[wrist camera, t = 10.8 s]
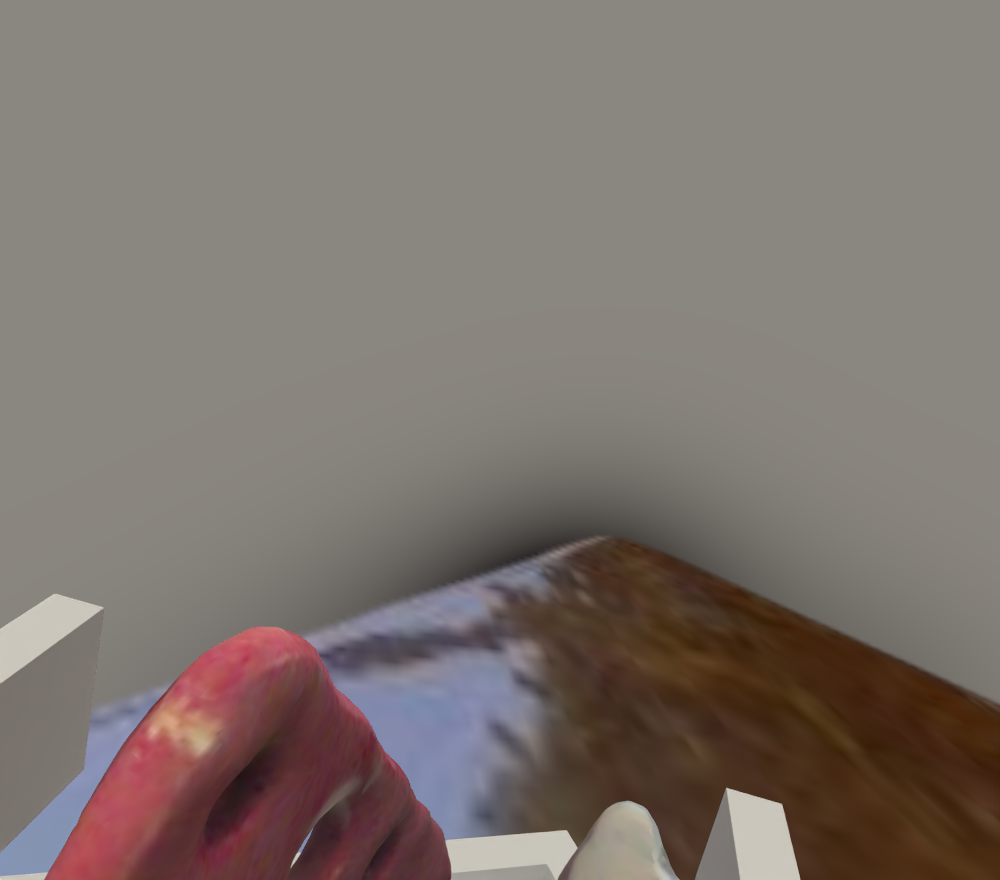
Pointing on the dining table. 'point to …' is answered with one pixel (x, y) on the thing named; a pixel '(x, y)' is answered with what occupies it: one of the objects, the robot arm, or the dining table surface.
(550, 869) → the tray
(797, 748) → the dining table surface
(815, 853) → the dining table surface
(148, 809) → the brake caliper
